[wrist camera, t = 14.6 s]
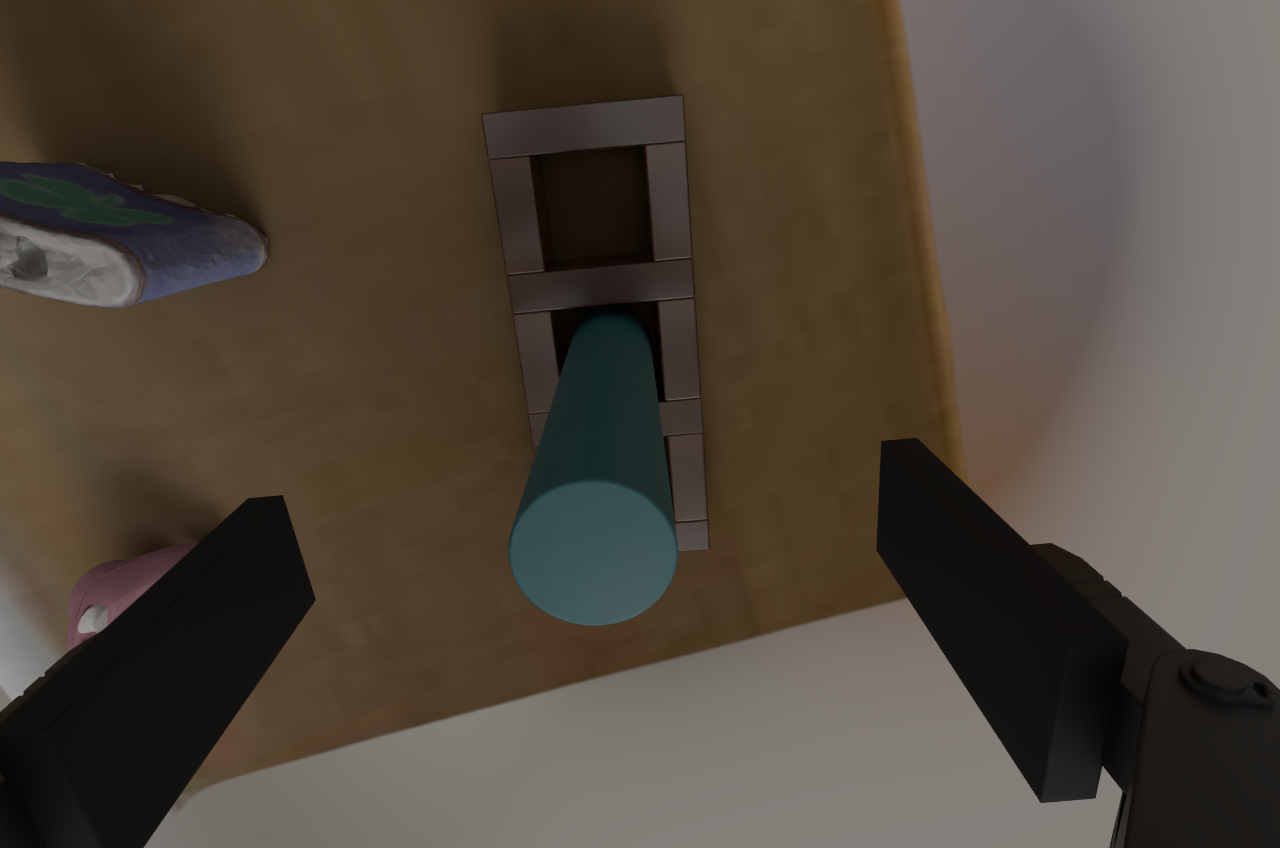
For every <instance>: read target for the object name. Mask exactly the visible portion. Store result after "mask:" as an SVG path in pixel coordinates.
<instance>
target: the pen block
mask: <svg viewBox="0 0 1280 848" xmlns="http://www.w3.org/2000/svg"><path fill="white" fill-rule="evenodd" d="M481 117H482V123H483V130H484V136H485V142H486V149H487V155H488V159H490V160H489V167H490V174H491V180H492V187H493V193H494V199H495V206H496V212H497V219H498V225H499V231H500V238H501V244H502V250H503V257H504V263H505V270H506V274H507V282H508V288H509V295H510V301H511V307H512V312H513V313H514V314H513V321H514V327H515V334H516V340H517V346H518V353H519V359H520V366H521V372H522V378H523V385H524V391H525V397H526V404H527V410H528V417H529V424H530V430H531V436H532V443H533V447H534V454H535V455H536V451H537V448H538V445H539V442H540V439H541V435H542V432H543V429H544V426H545V423H546V420H547V416H548V413H549V410H550V407H551V404H552V401H553V397H554V394H555V391H556V388H557V385H558V382H559V378H560V375H561V372H562V369H563V366H564V363H565V359H566V350H565V343H564V335H563V327H562V320H561V312H560V310H561V309H572V308H583V307H594V306H605V305H615V304H626V303H637V302H648V301H655V311H656V323H657V335H658V348H659V360H660V373H661V379H655V381H656V389H657V396H658V403H659V411H660V418H661V425H662V433H663V436H665V435H666V447H667V459H668V472H669V484H670V491H671V499H672V506H673V513H674V521H675V528H676V535H677V543H678V552H679V551H690V550H702V549H709V548H710V538H709V521H708V505H707V488H706V471H705V454H704V437H703V419H702V402H701V386H700V370H699V353H698V336H697V319H696V302H695V298H694V296H695V285H694V268H693V259H692V256H693V251H692V234H691V217H690V201H689V184H688V167H687V150H686V142H685V140H686V132H685V115H684V98H683V95H682V94H680V95H670V96H659V97H649V98H638V99H628V100H617V101H607V102H597V103H586V104H576V105H565V106H555V107H544V108H534V109H524V110H513V111H503V112H492V113H482V114H481ZM636 147H643V149H642V150H643V162H644V174H645V187H646V199H647V212H648V224H649V236H650V249H651V252H644V253H633V254H622V255H611V256H601V257H590V258H579V259H568V260H558V261H553V251H552V243H551V236H550V228H549V221H548V213H547V205H546V198H545V190H544V182H543V175H542V167H541V160H540V157H541V156H551V155H562V154H573V153H583V152H594V151H604V150H615V149H625V148H636Z"/></svg>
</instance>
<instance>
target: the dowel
mask: <svg viewBox="0 0 1280 848" xmlns="http://www.w3.org/2000/svg"><path fill="white" fill-rule="evenodd" d="M508 554H509V562H510V566H511V570H512V573H513V575H514V578H515V580H516V582H517V584H518V585H519V587H520V589H521V590H522V591H523V593H524V594H525V595H526V596H527V598H528V599H529V600H531V601H532V602H533V603H534V604H535V605H536V606H537V607H539V608H540V609H541V610H543V611H544V612H546V613H548V614H550V615H551V616H554V617H556V618H558V619H560V620H564V621H567V622H570V623H575V624H580V625H591V626H595V625H608V624H614V623H618V622H622V621H625V620H628V619H630V618H633V617H635V616H637V615H639V614H640V613H642V612H644V611H645V610H647V609H648V608H650V607H651V606H652V605H653V604H654V603H655V602H656V601H658V599H659V598H660V597H661V596H662V595H663V594H664V592H665V591H666V589H667V588H668V586H669V585H670V583H671V581H672V579H673V576H674V574H675V570H676V567H677V561H678V543H677V535H676V528H675V521H674V513H673V506H672V499H671V491H670V484H669V477H668V469H667V462H666V455H665V447H664V440H663V433H662V425H661V418H660V411H659V403H658V396H657V389H656V381H655V374H654V367H653V359H652V352H651V345H650V337H649V332H648V328H647V326H646V324H645V322H644V320H643V319H642V318H641V316H640V315H639V314H638V313H637V312H635V311H634V310H633V309H631V308H629V307H627V306H625V305H621V304H615V305H605V306H595V307H593V308H592V309H590V310H588V311H587V312H586V313H585V314H584V315H583V316H582V317H581V319H580V320H579V321H578V323H577V325H576V328H575V331H574V334H573V337H572V340H571V344H570V347H569V350H568V353H567V356H566V359H565V363H564V366H563V369H562V372H561V375H560V378H559V382H558V385H557V388H556V391H555V394H554V397H553V401H552V404H551V407H550V410H549V413H548V416H547V420H546V423H545V426H544V429H543V432H542V435H541V439H540V442H539V445H538V448H537V451H536V455H535V458H534V461H533V464H532V467H531V470H530V474H529V477H528V480H527V483H526V486H525V489H524V493H523V496H522V499H521V502H520V505H519V508H518V512H517V515H516V518H515V521H514V524H513V527H512V531H511V534H510V539H509V549H508Z"/></svg>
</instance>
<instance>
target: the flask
mask: <svg viewBox="0 0 1280 848" xmlns="http://www.w3.org/2000/svg"><path fill="white" fill-rule="evenodd" d="M225 215H226V216H225ZM225 215H218V214H215V213H213V212H210V211H208V210H204V209H203V208H202V207H198V206H196V204H195V203H193V202H190V201H186V200H185V199H183V197H182V196H181V197H175V196H173V195H171V194H168V195H166V194H164V196H163V195H161V194H159V195H155V194H154V195H152V194H151V193H150V194H149V193H148V192H146V191H144V190H143V188H142V185H141V184H140V185H129V184H125V183H122V182H120V181H119V180H118V179H116V178H115V177H114V176H113V174H112V173H111V174H108V173H105V172H103V171H100V170H98V169H97V168H94V167H91V166H88V165H86V164H84V163H82V162H78V163H57V164H48V163H36V162H35V163H15V162H0V287H3V288H7V289H12V290H15V291H18V292H20V293H26V294H31V295H35V296H39V297H44V298H48V299H53V300H58V301H64V302H69V303H72V304H77V305H83V306H89V307H99V308H103V309H111V308H126V307H129V306H132V305H136V304H138V303H141V302H145V301H149V300H153V299H156V298H160V297H163V296H165V295H170V294H174V293H178V292H181V291H185V290H188V289H191V288H195V287H199V286H202V285H205V284H209V283H215V282H219V281H223V280H227V279H231V278H235V277H238V276H244V275H247V274H251V273H253V272H255V271H257V270H259V269H260V268H261V266H262V265H264V264H265V261H266V260H267V256H268V245H267V244H268V239H267V238H266V237H265V236H264V235H263V234H262V233H261V232H260V231H259V230H258V229H257V228H256V227H254V226H252V225H250V224H249V223H248V222H246V221H243V220H241V219H239V218H237V217H236V216H234V215H230V214H227V213H226V214H225Z"/></svg>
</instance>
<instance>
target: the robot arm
mask: <svg viewBox="0 0 1280 848" xmlns="http://www.w3.org/2000/svg"><path fill="white" fill-rule="evenodd" d="M876 550H877V552H878V553H879V555H880V556H881V558H882V559H883V561H884V563H885V564H886V566H887V567H888V569H889V570H890V572H891V573H892V575H893V576H894V578H895V579H896V581H897V583H898V584H899V586H900V587H901V589H902V590H903V592H904V593H905V595H906V596H907V598H908V599H909V601H910V603H911V604H912V605H913V607H914V609H915V610H916V612H917V613H918V615H919V616H920V618H921V619H922V621H923V622H924V624H925V625H926V627H927V629H928V630H929V632H930V633H931V635H932V636H933V638H934V639H935V641H936V642H937V644H938V645H939V647H940V649H941V650H942V652H943V653H944V655H945V656H946V658H947V659H948V661H949V662H950V664H951V666H952V667H953V669H954V670H955V672H956V673H957V675H958V676H959V678H960V679H961V681H962V682H963V684H964V686H965V687H966V689H967V690H968V692H969V693H970V695H971V696H972V698H973V699H974V701H975V702H976V704H977V705H978V707H979V709H980V710H981V712H982V713H983V715H984V716H985V718H986V719H987V721H988V722H989V724H990V725H991V727H992V729H993V730H994V732H995V733H996V735H997V736H998V738H999V739H1000V741H1001V742H1002V744H1003V745H1004V747H1005V749H1006V750H1007V752H1008V753H1009V755H1010V756H1011V758H1012V759H1013V761H1014V762H1015V764H1016V765H1017V767H1018V769H1019V770H1020V772H1021V773H1022V775H1023V776H1024V778H1025V779H1026V781H1027V782H1028V784H1029V785H1030V787H1031V789H1032V790H1033V791H1034V793H1035V795H1036V796H1037V798H1038V799H1039V801H1040V802H1041V803H1045V802H1046V803H1047V802H1057V801H1070V800H1082V799H1093V798H1096V793H1097V788H1098V783H1099V779H1100V775H1101V770H1102V766H1103V767H1104V768H1105V769H1106V771H1107V772H1108V773H1109V774H1110V776H1111V777H1112V778H1113V779H1114V781H1115V782H1116V783H1117V784H1118V786H1119V787H1120V788H1121V790H1122V791H1123V792H1122V796H1121V800H1120V805H1119V809H1118V813H1117V818H1116V822H1115V826H1114V830H1113V834H1112V839H1111V843H1110V848H1280V690H1279V689H1278V688H1277V687H1276V686H1275V685H1274V684H1273V683H1272V682H1271V681H1270V680H1269V679H1268V678H1266V677H1265V676H1264V675H1262V674H1260V673H1259V672H1257V671H1255V670H1254V669H1252V668H1250V667H1248V666H1247V665H1245V664H1243V663H1240V662H1238V661H1235V660H1233V659H1230V658H1227V657H1225V656H1222V655H1219V654H1215V653H1210V652H1205V651H1200V650H1195V649H1185V647H1183V646H1182V645H1181V644H1180V643H1179V642H1178V641H1177V640H1175V639H1174V638H1173V637H1172V636H1171V635H1170V634H1168V633H1167V632H1166V631H1165V630H1163V628H1161V627H1160V626H1159V625H1158V624H1157V623H1156V622H1155V621H1154V620H1152V619H1151V618H1150V617H1149V616H1148V615H1147V614H1145V613H1144V612H1143V611H1142V610H1141V609H1140V608H1139V607H1137V606H1136V605H1135V604H1134V603H1133V602H1132V601H1130V600H1129V599H1128V598H1127V597H1122V595H1121V592H1120V591H1119V590H1118V589H1117V588H1115V587H1114V586H1113V585H1112V584H1111V583H1110V582H1109V581H1104V579H1103V576H1102V575H1101V574H1099V573H1098V572H1097V571H1096V570H1095V569H1094V568H1092V567H1091V566H1090V565H1089V564H1088V563H1087V562H1085V561H1084V560H1083V559H1082V558H1080V557H1078V556H1076V555H1074V554H1072V553H1070V552H1068V551H1066V550H1064V549H1062V548H1060V547H1058V546H1056V545H1054V544H1052V543H1046V544H1035V545H1029V544H1028V543H1027V542H1026V541H1025V540H1024V539H1023V538H1022V537H1021V536H1020V535H1019V534H1018V533H1017V532H1016V531H1015V530H1013V529H1012V528H1011V527H1010V526H1009V525H1008V524H1007V523H1006V522H1005V521H1004V520H1003V519H1002V518H1001V517H1000V516H999V515H997V513H996V512H994V511H993V510H992V509H991V508H990V507H989V506H988V505H987V504H986V503H985V502H984V501H983V500H982V499H981V498H980V497H979V496H978V495H976V494H975V493H974V492H973V491H972V490H971V489H970V488H969V487H968V486H967V485H966V484H965V483H964V482H963V481H962V480H961V479H960V478H959V477H957V476H956V475H955V474H954V473H953V472H952V471H951V470H950V469H949V468H948V467H947V466H946V465H945V464H944V463H943V462H942V461H941V460H940V459H938V458H937V457H936V456H935V455H934V454H933V453H932V452H931V451H930V450H929V449H928V448H927V447H926V446H925V445H924V444H923V443H922V442H920V441H919V440H918V439H917V438H910V439H899V440H888V441H881V461H880V483H879V505H878V527H877V549H876ZM315 600H316V599H315V596H314V593H313V590H312V587H311V583H310V580H309V577H308V574H307V571H306V568H305V564H304V561H303V558H302V555H301V552H300V548H299V545H298V542H297V539H296V536H295V533H294V529H293V526H292V523H291V520H290V517H289V513H288V510H287V507H286V504H285V501H284V498H283V495H280V496H269V497H258V498H248V499H247V500H246V501H245V502H244V503H242V504H241V505H240V506H239V507H238V508H237V509H236V510H235V511H234V512H233V513H231V514H230V515H229V516H228V517H227V518H226V519H225V520H224V521H223V522H221V523H220V524H219V525H218V526H217V527H216V528H215V529H214V530H213V531H212V532H210V533H209V534H208V535H207V536H206V537H205V538H204V539H203V540H202V541H201V542H199V543H198V544H197V545H196V546H195V547H194V548H193V549H192V550H191V551H189V552H188V553H187V554H186V555H185V556H184V557H183V558H182V559H181V560H180V561H178V562H177V563H176V564H175V565H174V566H173V567H172V568H171V569H170V570H168V571H167V572H166V573H165V574H164V575H163V576H162V577H161V578H160V579H159V580H157V581H156V582H155V583H154V584H153V585H152V586H151V587H150V588H149V589H148V590H146V591H145V592H144V593H143V594H142V595H141V596H140V597H139V598H138V599H136V600H135V601H134V602H133V603H132V604H131V605H130V606H129V607H128V608H127V609H125V610H124V611H123V612H122V613H121V614H120V615H119V616H118V617H117V618H116V619H114V620H113V621H112V622H111V623H110V624H109V625H108V626H107V627H106V628H104V629H103V630H102V631H100V632H99V633H97V634H95V635H94V636H92V637H90V638H89V639H87V640H85V641H84V642H82V643H81V644H79V645H77V646H76V647H74V648H72V649H71V650H70V651H68V652H67V653H66V654H65V655H64V656H63V657H62V658H61V659H59V660H58V661H57V662H56V663H55V664H54V665H53V666H52V667H50V668H49V669H48V670H47V671H46V672H45V676H44V677H39V678H38V679H37V680H36V681H35V682H34V683H32V684H31V685H30V686H29V687H28V688H27V689H26V690H25V691H24V694H23V696H18V697H17V698H16V699H14V700H13V701H12V702H11V703H10V704H9V705H8V706H7V707H6V708H4V709H3V710H2V711H1V712H0V848H143V847H144V846H145V845H146V843H147V842H148V840H149V839H150V837H151V836H152V835H153V833H154V832H155V830H156V829H157V827H158V826H159V825H160V823H161V822H162V820H163V819H164V817H165V816H166V814H167V813H168V812H169V810H170V809H171V807H172V806H173V804H174V803H175V802H176V800H177V799H178V797H179V796H180V794H181V793H182V791H183V790H184V789H185V787H186V786H187V784H188V783H189V781H190V780H191V779H192V777H193V776H194V774H195V773H196V771H197V770H198V769H199V767H200V766H201V764H202V763H203V761H204V760H205V758H206V757H207V756H208V754H209V753H210V751H211V750H212V748H213V747H214V746H215V744H216V743H217V741H218V740H219V738H220V737H221V735H222V734H223V733H224V731H225V730H226V728H227V727H228V725H229V724H230V723H231V721H232V720H233V718H234V717H235V715H236V714H237V712H238V711H239V710H240V708H241V707H242V705H243V704H244V702H245V701H246V700H247V698H248V697H249V695H250V694H251V692H252V691H253V689H254V688H255V687H256V685H257V684H258V682H259V681H260V679H261V678H262V677H263V675H264V674H265V672H266V671H267V669H268V668H269V666H270V665H271V664H272V662H273V661H274V659H275V658H276V656H277V655H278V654H279V652H280V651H281V649H282V648H283V646H284V645H285V643H286V642H287V641H288V639H289V638H290V636H291V635H292V633H293V632H294V631H295V629H296V628H297V626H298V625H299V623H300V622H301V620H302V619H303V618H304V616H305V615H306V613H307V612H308V610H309V609H310V608H311V606H312V605H313V603H314V602H315Z"/></svg>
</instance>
